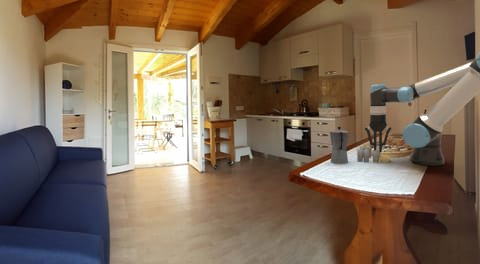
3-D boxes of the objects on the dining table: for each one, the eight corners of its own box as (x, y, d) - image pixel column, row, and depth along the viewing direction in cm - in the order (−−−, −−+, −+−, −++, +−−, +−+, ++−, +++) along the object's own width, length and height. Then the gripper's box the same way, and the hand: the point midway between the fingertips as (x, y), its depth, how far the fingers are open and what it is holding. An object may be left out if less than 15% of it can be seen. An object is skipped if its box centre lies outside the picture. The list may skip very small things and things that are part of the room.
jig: (381, 159, 162) (381, 147, 161) (379, 165, 151) (379, 151, 150) (360, 158, 167) (360, 146, 166) (356, 163, 156) (357, 150, 156)
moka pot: (345, 160, 164) (345, 124, 161) (353, 167, 149) (353, 128, 146) (327, 160, 165) (327, 125, 162) (333, 167, 150) (333, 129, 147)
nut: (388, 161, 156) (390, 156, 155) (387, 163, 152) (389, 158, 151) (379, 159, 158) (380, 153, 157) (378, 161, 154) (380, 155, 153)
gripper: (392, 113, 154) (391, 157, 157) (365, 113, 160) (365, 156, 163) (391, 114, 147) (391, 160, 150) (363, 114, 154) (363, 158, 157)
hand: (377, 158), depth 157 cm, fingers closed
